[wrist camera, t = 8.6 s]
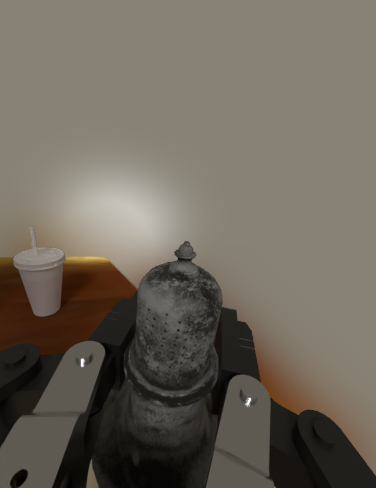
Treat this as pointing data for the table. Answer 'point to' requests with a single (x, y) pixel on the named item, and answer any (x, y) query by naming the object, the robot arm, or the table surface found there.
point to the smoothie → (41, 276)
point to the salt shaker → (164, 384)
